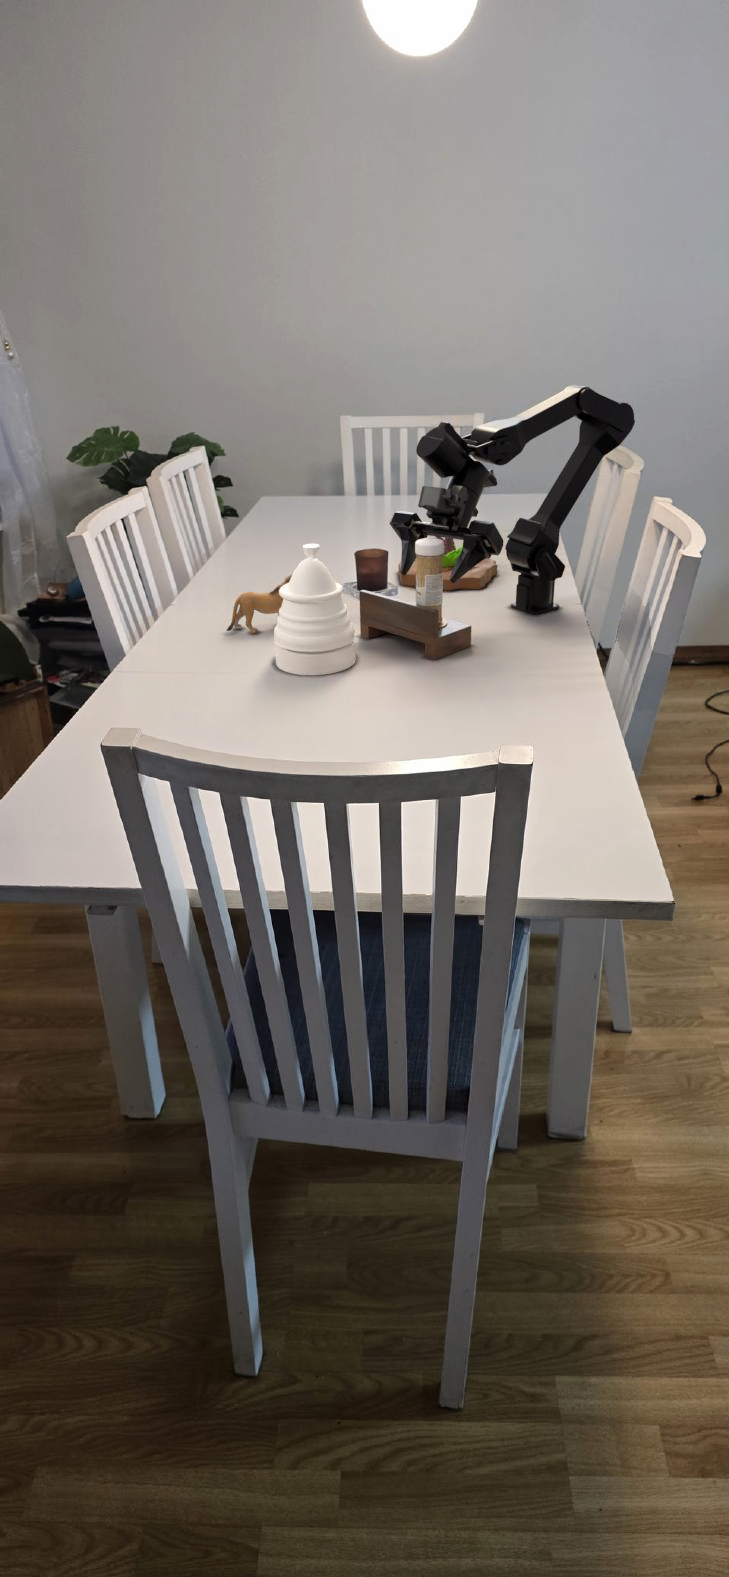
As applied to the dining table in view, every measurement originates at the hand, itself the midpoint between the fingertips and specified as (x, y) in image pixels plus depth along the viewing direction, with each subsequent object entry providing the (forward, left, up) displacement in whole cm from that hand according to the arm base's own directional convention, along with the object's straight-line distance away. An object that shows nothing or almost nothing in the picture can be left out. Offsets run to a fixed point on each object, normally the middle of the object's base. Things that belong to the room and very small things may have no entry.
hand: (426, 578), depth 159 cm
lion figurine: (+15, -25, -11) cm, 31 cm away
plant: (-29, -29, -11) cm, 42 cm away
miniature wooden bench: (0, -3, -11) cm, 12 cm away
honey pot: (+18, -6, -11) cm, 22 cm away
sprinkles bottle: (-1, 0, -8) cm, 8 cm away
